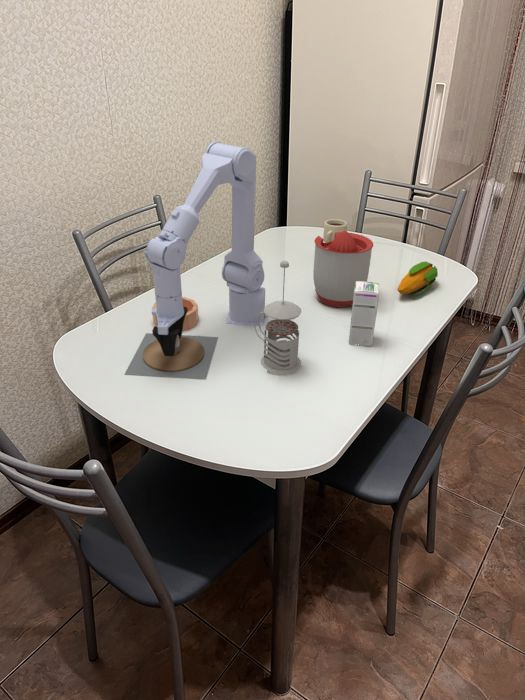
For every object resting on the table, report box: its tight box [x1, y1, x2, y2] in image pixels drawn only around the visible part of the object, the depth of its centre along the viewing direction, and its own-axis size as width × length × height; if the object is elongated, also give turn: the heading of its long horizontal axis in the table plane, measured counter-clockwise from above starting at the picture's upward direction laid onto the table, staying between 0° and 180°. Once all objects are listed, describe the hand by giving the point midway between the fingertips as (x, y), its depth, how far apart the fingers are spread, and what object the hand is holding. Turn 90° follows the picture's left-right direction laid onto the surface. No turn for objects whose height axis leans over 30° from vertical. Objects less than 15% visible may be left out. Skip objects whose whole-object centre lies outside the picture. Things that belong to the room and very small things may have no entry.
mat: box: [124, 332, 219, 381], centre depth 120 cm, size 18×18×1 cm
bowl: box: [151, 296, 199, 332], centre depth 133 cm, size 11×11×4 cm
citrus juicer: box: [312, 230, 374, 308], centre depth 143 cm, size 16×17×20 cm
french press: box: [253, 259, 302, 376], centre depth 113 cm, size 10×12×25 cm
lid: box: [143, 335, 204, 372], centre depth 119 cm, size 14×14×5 cm
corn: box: [396, 261, 439, 298], centre depth 151 cm, size 7×8×20 cm
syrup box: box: [348, 281, 380, 347], centre depth 124 cm, size 6×6×14 cm
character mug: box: [322, 218, 348, 243], centre depth 167 cm, size 11×7×13 cm, turn 148°
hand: (173, 346), depth 119 cm, fingers open, 7 cm apart
